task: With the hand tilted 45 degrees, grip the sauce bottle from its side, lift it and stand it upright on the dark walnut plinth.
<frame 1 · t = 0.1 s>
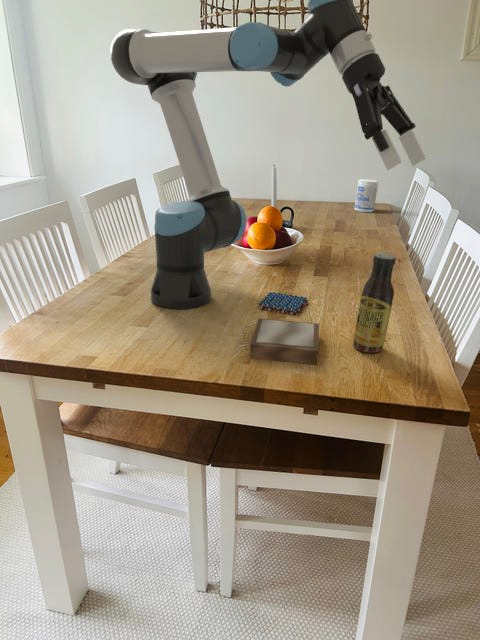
hand: (407, 164, 93), 36 cm above the table, tool tilted 35°, fingers open, 13 cm apart
supplement tub: (364, 211, 241), on the table
woven mat: (283, 308, 122), on the table
walnut plinth: (285, 346, 101), on the table
sauce bottle: (368, 348, 101), on the table
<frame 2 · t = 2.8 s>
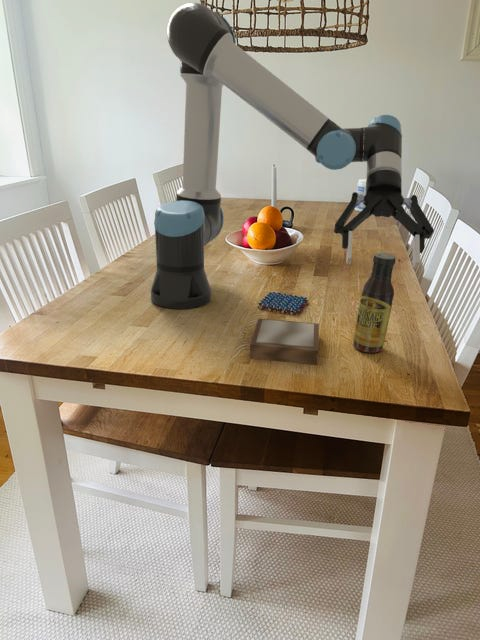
hand: (382, 263, 101), 16 cm above the table, tool tilted 45°, fingers open, 13 cm apart
nothing on the table moved.
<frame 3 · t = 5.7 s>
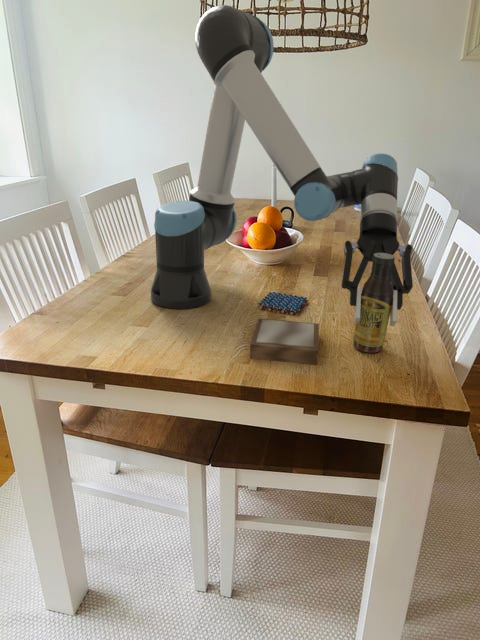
hand: (375, 321, 95), 7 cm above the table, tool tilted 45°, fingers closed on sauce bottle, 6 cm apart
sauce bottle: (368, 348, 101), on the table, touching gripper
everything else where it was.
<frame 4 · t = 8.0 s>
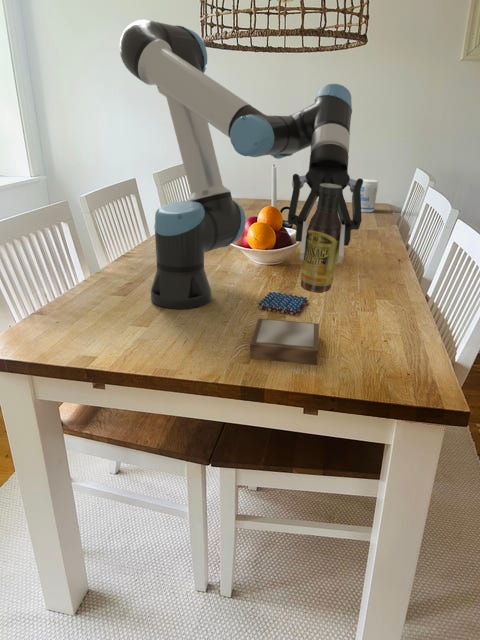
hand: (321, 257, 89), 20 cm above the table, tool tilted 45°, fingers closed on sauce bottle, 6 cm apart
sauce bottle: (316, 289, 96), point 13 cm above the table, touching gripper
everything else where it was.
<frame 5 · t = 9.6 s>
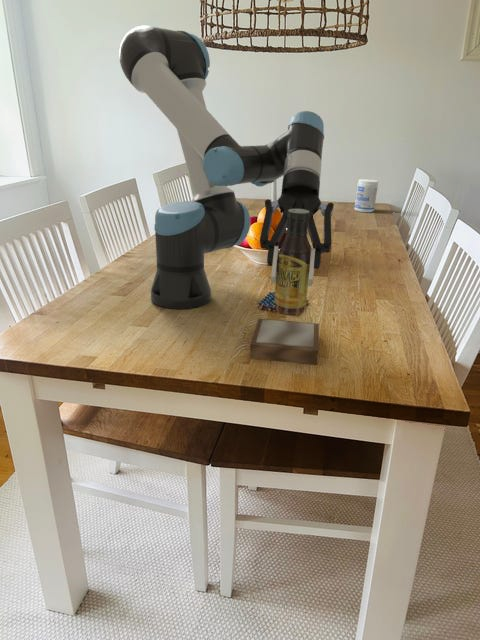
hand: (291, 281, 91), 16 cm above the table, tool tilted 45°, fingers closed on sauce bottle, 6 cm apart
sauce bottle: (290, 311, 97), point 8 cm above the table, touching gripper
everything else where it was.
when the fingers open (12 cm above the table, at t = 10.7 s): sauce bottle drops 1 cm, resting on walnut plinth.
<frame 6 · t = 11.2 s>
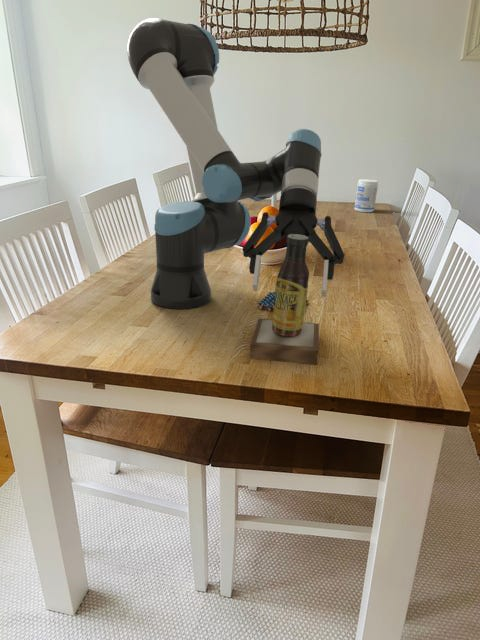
hand: (289, 291, 93), 13 cm above the table, tool tilted 45°, fingers open, 12 cm apart
sauce bottle: (287, 333, 99), point 3 cm above the table, touching walnut plinth
everything else where it was.
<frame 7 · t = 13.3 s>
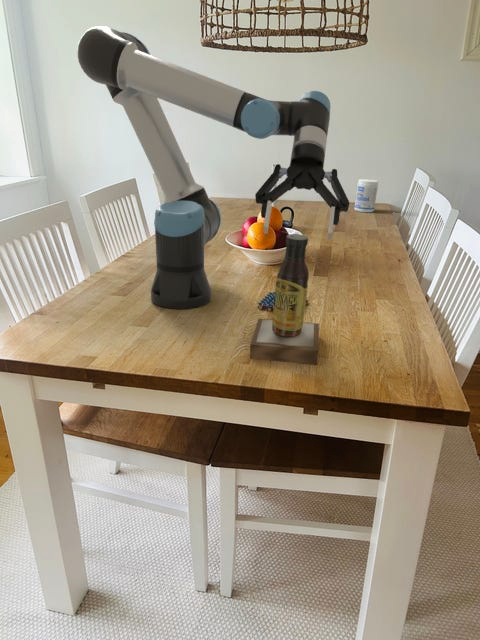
hand: (297, 233, 103), 21 cm above the table, tool tilted 45°, fingers open, 13 cm apart
nothing on the table moved.
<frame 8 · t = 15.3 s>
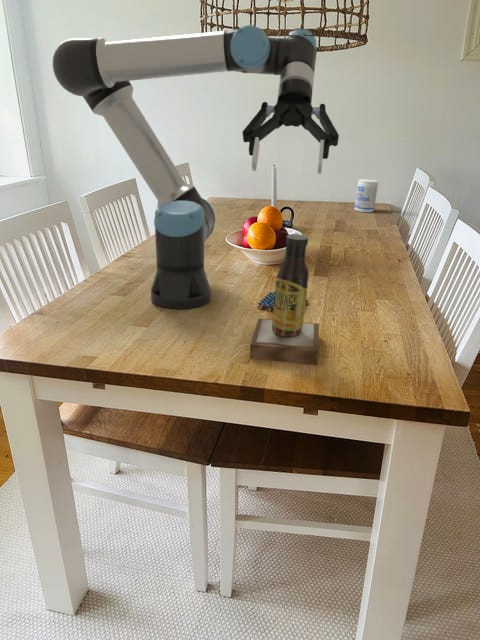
hand: (286, 168, 101), 34 cm above the table, tool tilted 45°, fingers open, 13 cm apart
nothing on the table moved.
at the end: sauce bottle inside the target area on the walnut plinth (0.2 cm from its centre), point 3.1 cm above the walnut plinth's base; sauce bottle tilted 0°; the gripper is holding nothing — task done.
